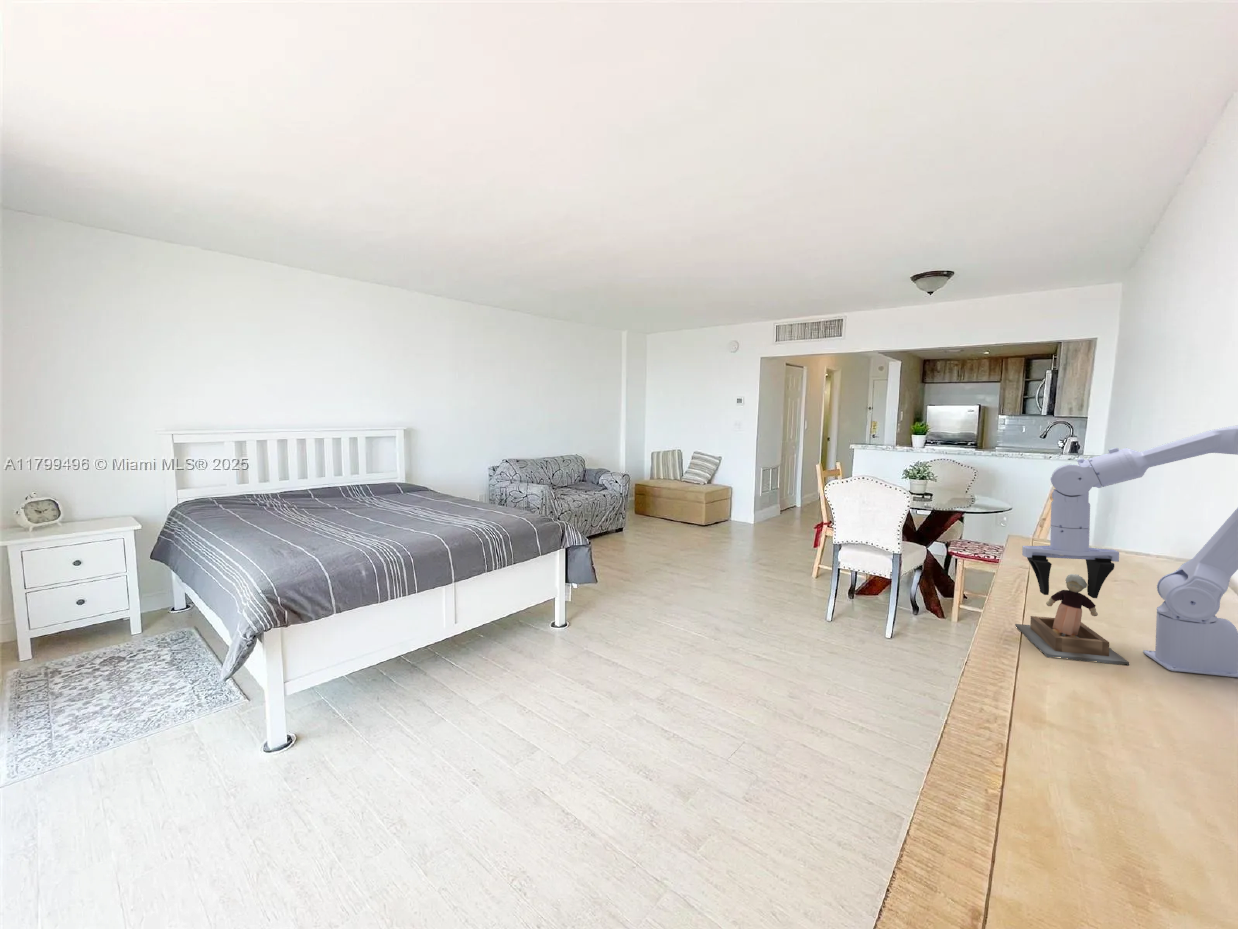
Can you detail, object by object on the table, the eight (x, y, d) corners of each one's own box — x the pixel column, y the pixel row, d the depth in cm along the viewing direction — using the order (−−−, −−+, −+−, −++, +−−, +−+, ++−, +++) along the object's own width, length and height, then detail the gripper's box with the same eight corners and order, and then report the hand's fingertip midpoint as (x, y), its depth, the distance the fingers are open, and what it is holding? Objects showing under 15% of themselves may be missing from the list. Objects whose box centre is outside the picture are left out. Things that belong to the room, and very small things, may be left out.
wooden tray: (1084, 632, 108) (1085, 617, 108) (1128, 665, 93) (1129, 648, 93) (1015, 626, 112) (1015, 612, 112) (1046, 657, 97) (1047, 640, 97)
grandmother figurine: (1043, 633, 104) (1054, 571, 104) (1040, 628, 108) (1051, 568, 107) (1094, 645, 100) (1105, 581, 100) (1090, 640, 103) (1101, 578, 103)
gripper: (1106, 524, 102) (1103, 592, 103) (1017, 521, 108) (1015, 586, 108) (1126, 530, 96) (1123, 603, 97) (1030, 527, 101) (1029, 596, 102)
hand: (1068, 595), depth 102 cm, fingers open, 7 cm apart
